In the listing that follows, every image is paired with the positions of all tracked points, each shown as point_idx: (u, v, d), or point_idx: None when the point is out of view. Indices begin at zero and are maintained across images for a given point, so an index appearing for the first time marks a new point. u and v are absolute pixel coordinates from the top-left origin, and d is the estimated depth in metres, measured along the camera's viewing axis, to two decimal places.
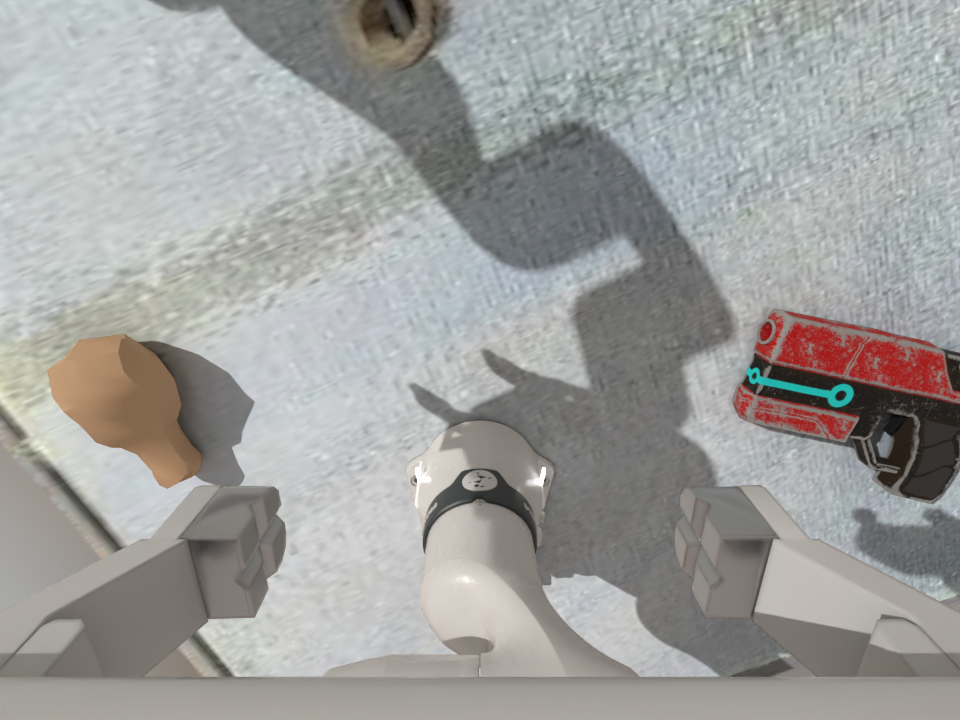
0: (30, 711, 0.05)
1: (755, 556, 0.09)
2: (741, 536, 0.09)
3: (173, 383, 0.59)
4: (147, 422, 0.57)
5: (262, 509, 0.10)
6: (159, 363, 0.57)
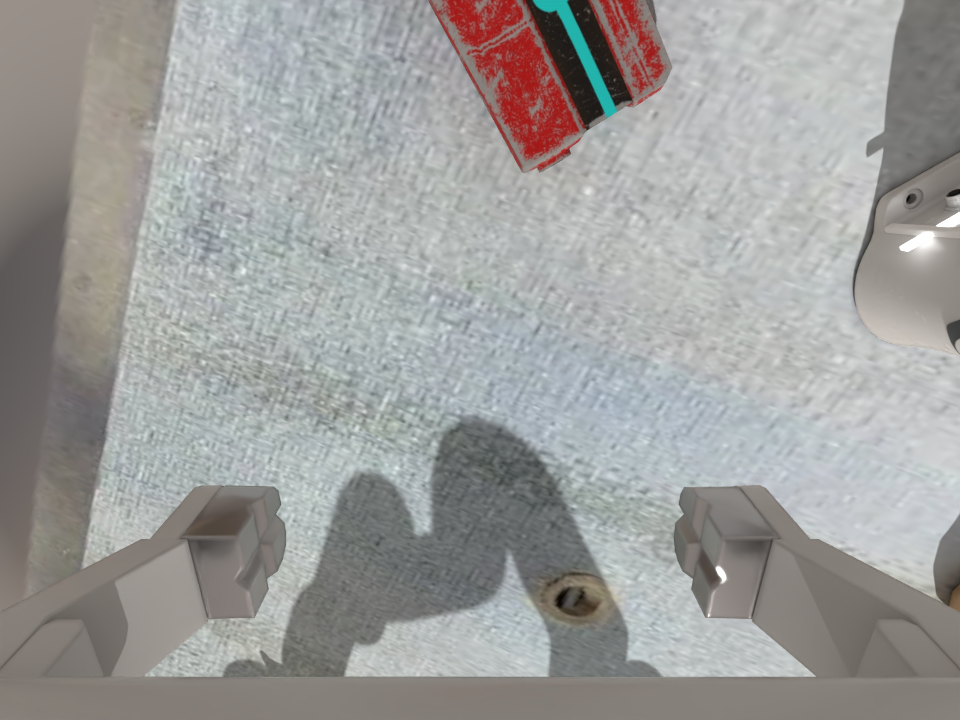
0: (30, 711, 0.05)
1: (755, 556, 0.09)
2: (741, 536, 0.09)
3: None
4: None
5: (262, 509, 0.10)
6: None
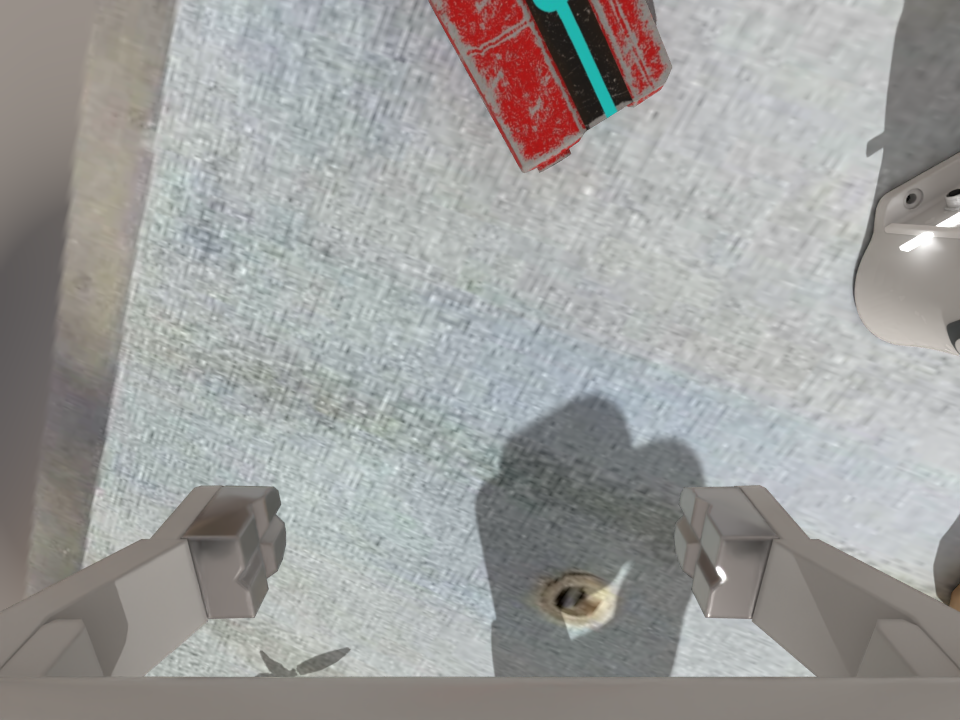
0: (30, 711, 0.05)
1: (755, 556, 0.09)
2: (741, 536, 0.09)
3: None
4: None
5: (262, 509, 0.10)
6: None
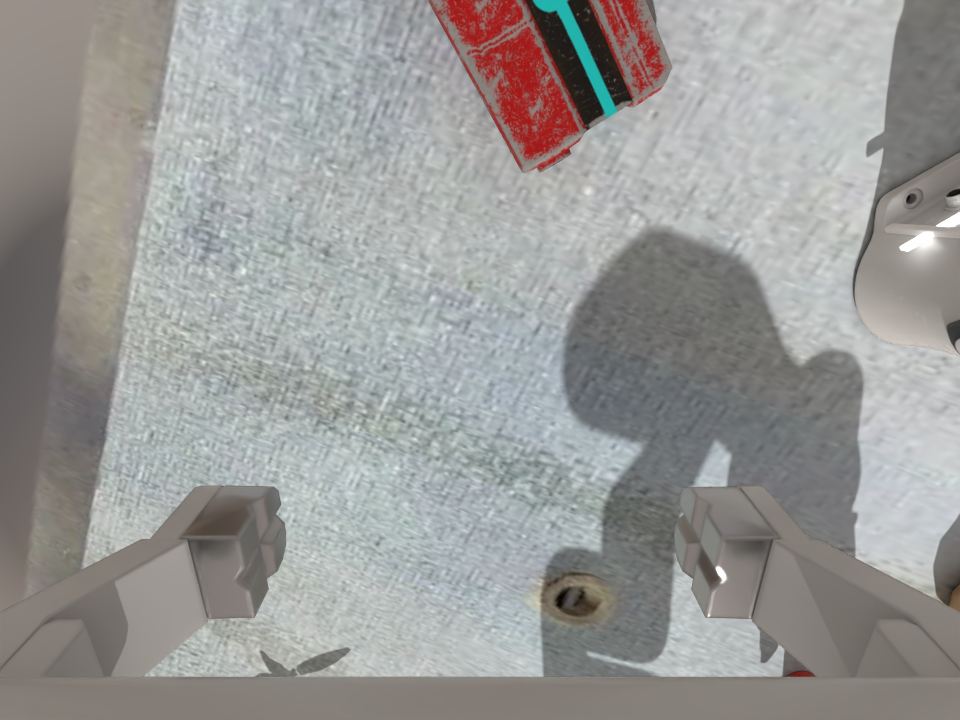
0: (30, 711, 0.05)
1: (755, 556, 0.09)
2: (741, 536, 0.09)
3: None
4: None
5: (262, 509, 0.10)
6: None
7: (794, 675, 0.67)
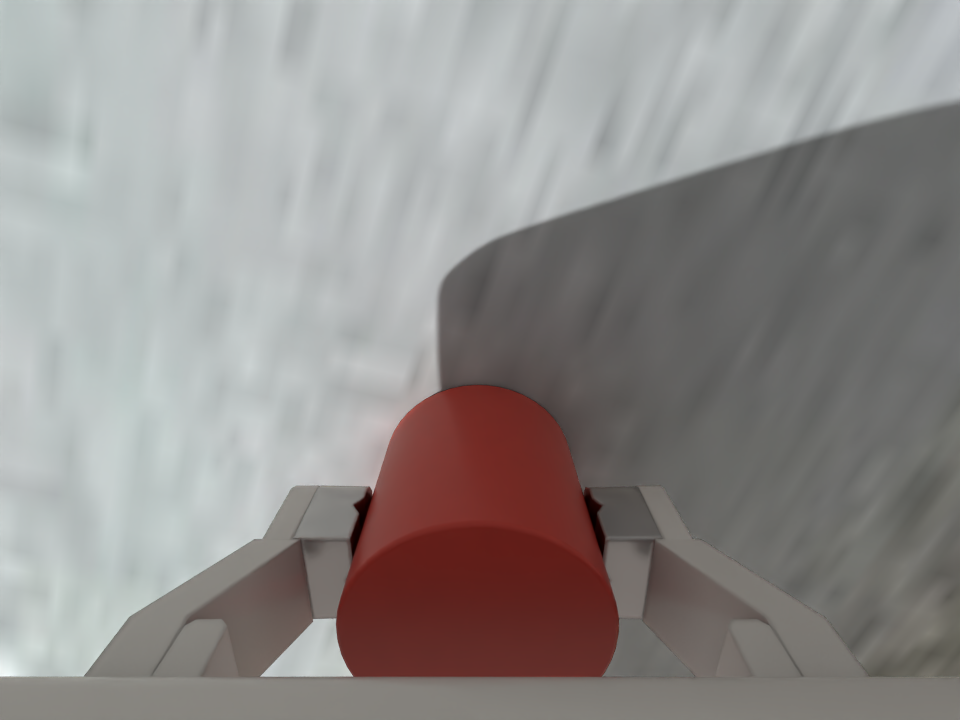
0: (30, 711, 0.05)
1: (640, 556, 0.09)
2: (626, 536, 0.09)
3: None
4: None
5: (362, 509, 0.10)
6: None
7: (550, 418, 0.11)
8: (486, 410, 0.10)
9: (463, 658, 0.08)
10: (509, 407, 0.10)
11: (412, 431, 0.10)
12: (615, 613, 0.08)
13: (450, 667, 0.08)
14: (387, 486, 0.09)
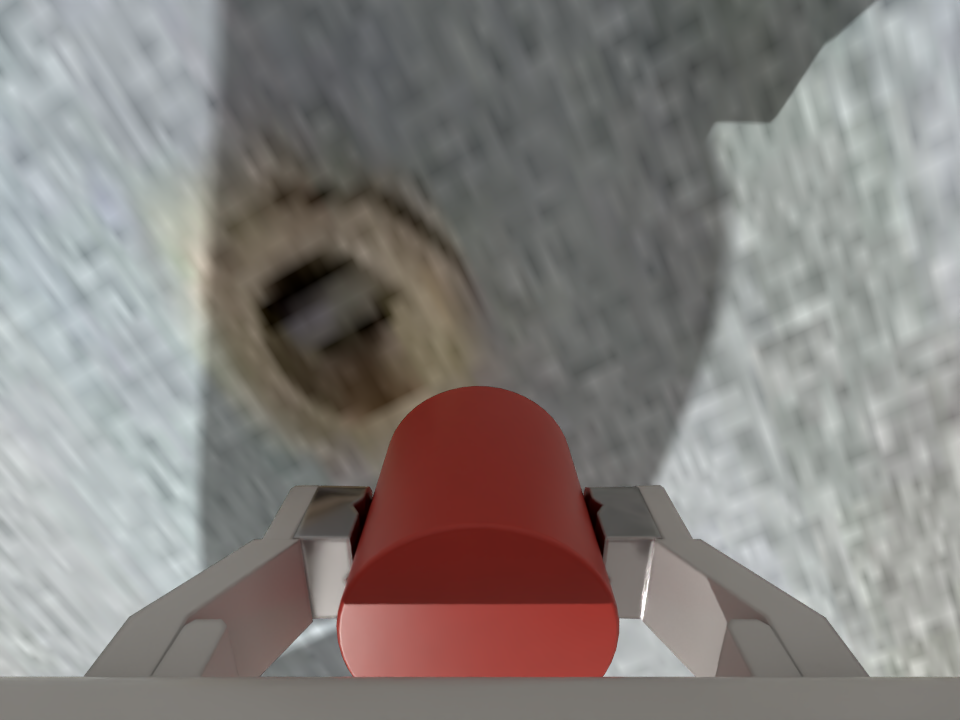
0: (30, 711, 0.05)
1: (639, 556, 0.09)
2: (626, 536, 0.09)
3: None
4: None
5: (362, 509, 0.10)
6: None
7: (550, 419, 0.11)
8: (487, 411, 0.10)
9: (463, 660, 0.08)
10: (509, 408, 0.10)
11: (412, 432, 0.10)
12: (615, 614, 0.08)
13: (450, 669, 0.08)
14: (387, 487, 0.09)
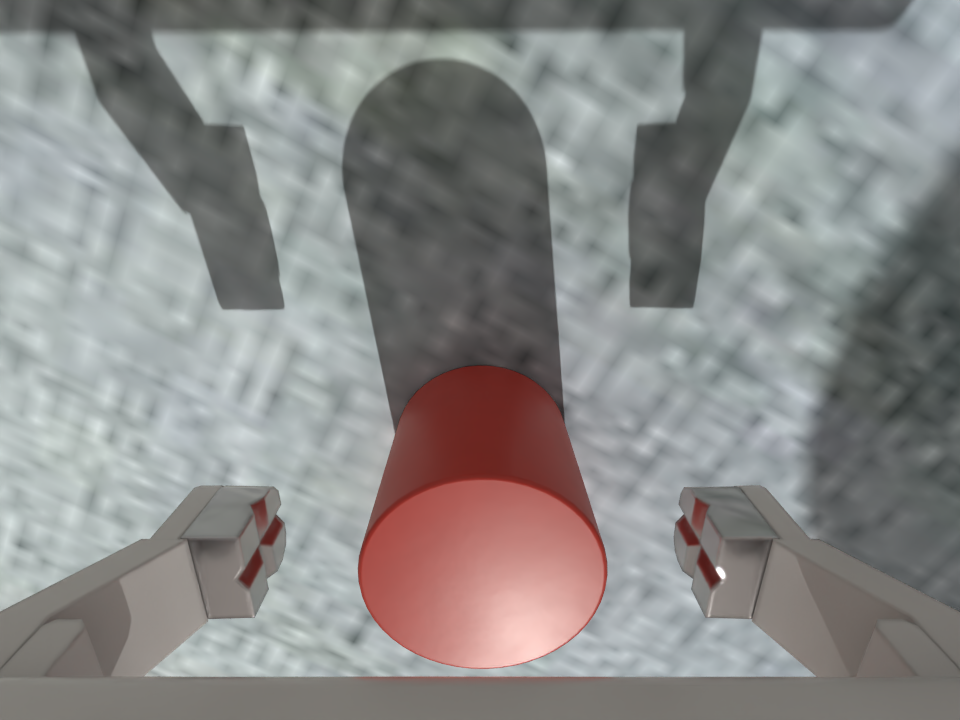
0: (30, 711, 0.05)
1: (755, 556, 0.09)
2: (741, 536, 0.09)
3: None
4: None
5: (262, 509, 0.10)
6: None
7: (547, 396, 0.12)
8: (489, 386, 0.11)
9: (469, 600, 0.09)
10: (510, 384, 0.12)
11: (422, 406, 0.11)
12: (603, 557, 0.09)
13: (458, 608, 0.09)
14: (401, 451, 0.10)
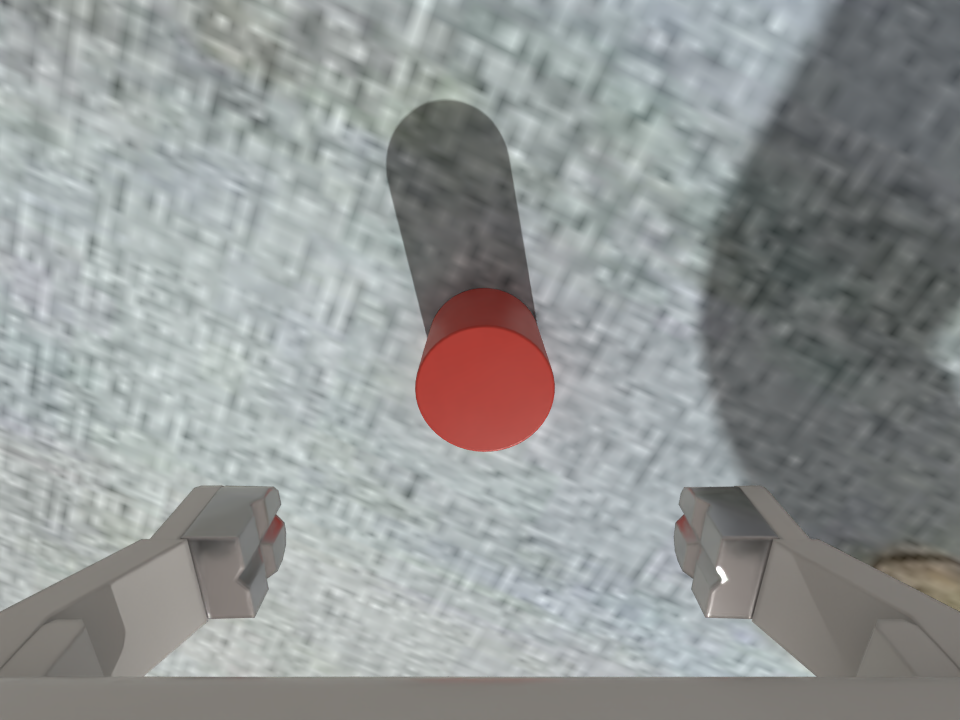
0: (30, 711, 0.05)
1: (755, 556, 0.09)
2: (741, 536, 0.09)
3: None
4: None
5: (262, 509, 0.10)
6: None
7: (523, 304, 0.19)
8: (484, 296, 0.18)
9: (478, 404, 0.16)
10: (497, 295, 0.18)
11: (444, 311, 0.18)
12: (550, 371, 0.16)
13: (472, 410, 0.16)
14: (434, 331, 0.17)
